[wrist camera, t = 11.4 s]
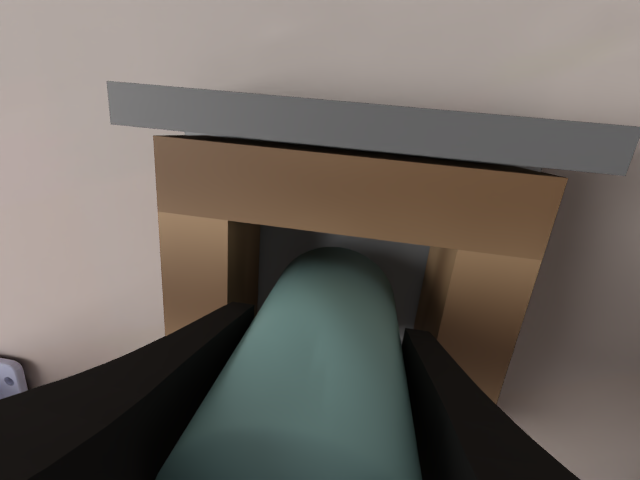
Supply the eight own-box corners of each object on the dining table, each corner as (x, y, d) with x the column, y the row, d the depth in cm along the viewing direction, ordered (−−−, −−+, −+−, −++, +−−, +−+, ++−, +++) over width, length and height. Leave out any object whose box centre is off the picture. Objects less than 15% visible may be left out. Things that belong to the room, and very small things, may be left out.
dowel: (384, 362, 12) (405, 657, 5) (273, 344, 12) (158, 595, 6) (404, 255, 11) (463, 462, 4) (278, 239, 11) (140, 401, 4)
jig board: (429, 541, 17) (446, 659, 13) (200, 492, 18) (155, 587, 14) (546, 129, 11) (643, 127, 7) (189, 97, 12) (106, 80, 8)
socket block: (447, 418, 14) (467, 493, 11) (209, 376, 15) (171, 435, 12) (514, 166, 10) (568, 177, 8) (206, 134, 11) (153, 135, 9)
